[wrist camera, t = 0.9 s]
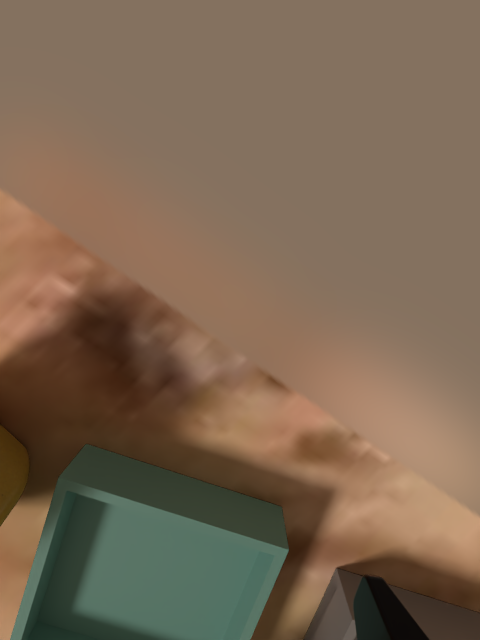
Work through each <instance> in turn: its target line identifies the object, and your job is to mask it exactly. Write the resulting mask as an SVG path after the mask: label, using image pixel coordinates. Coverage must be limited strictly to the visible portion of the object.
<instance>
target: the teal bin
mask: <svg viewBox="0 0 480 640" xmlns="http://www.w3.org/2000/svg"><path fill="white" fill-rule="evenodd" d="M288 551H289V547H288V541H287V535H286V529H285V523H284V517H283V511H282V507H281V506H278V505H274V504H271V503H268V502H265V501H262V500H259V499H256V498H253V497H250V496H247V495H243V494H240V493H237V492H234V491H231V490H228V489H225V488H222V487H219V486H216V485H212V484H209V483H206V482H203V481H200V480H197V479H194V478H191V477H188V476H185V475H181V474H178V473H175V472H172V471H169V470H166V469H163V468H160V467H157V466H154V465H150V464H147V463H144V462H141V461H138V460H135V459H132V458H129V457H126V456H123V455H119V454H116V453H113V452H110V451H107V450H104V449H101V448H98V447H95V446H92V445H88V444H86V445H85V446H84V447H83V448H82V449H81V451H80V452H79V453H78V454H77V456H76V457H75V458H74V459H73V460H72V462H71V463H70V464H69V465H68V466H67V468H66V469H65V470H64V471H63V472H62V474H61V475H60V476H59V478H58V481H57V484H56V488H55V491H54V494H53V498H52V501H51V504H50V508H49V511H48V514H47V518H46V521H45V524H44V528H43V531H42V535H41V538H40V541H39V545H38V548H37V551H36V555H35V558H34V561H33V565H32V568H31V571H30V575H29V578H28V581H27V585H26V588H25V592H24V595H23V598H22V602H21V605H20V608H19V612H18V615H17V618H16V622H15V625H14V628H13V632H12V635H11V638H10V640H250V639H251V637H252V635H253V632H254V630H255V628H256V625H257V623H258V621H259V618H260V616H261V614H262V612H263V609H264V607H265V605H266V602H267V600H268V598H269V595H270V593H271V591H272V588H273V586H274V584H275V581H276V579H277V577H278V574H279V572H280V570H281V567H282V565H283V563H284V560H285V558H286V556H287V554H288Z"/></svg>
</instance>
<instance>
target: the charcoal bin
mask: <svg viewBox="0 0 480 640" xmlns="http://www.w3.org/2000/svg"><path fill="white" fill-rule="evenodd" d="M362 577H363V576H360V575H357V574H354V573H351V572H347V571H344V570H341V569H338V568H336V570H335V572H334V574H333V576H332V579H331V581H330V583H329V585H328V587H327V589H326V592H325V594H324V596H323V598H322V600H321V603H320V605H319V607H318V609H317V611H316V613H315V616H314V618H313V620H312V622H311V624H310V626H309V629H308V631H307V633H306V635H305V637H304V639H303V640H357V635H356V627H355V619H354V611H353V601H354V597H355V594H356V592H357V589H358V586H359V584H360V581H361V579H362ZM388 585H389V584H388ZM389 587H390V588H391V589H392V591H393V592H394V593H395V595H396V596H397V597H398V598H399V600H400V601H401V602H402V604H403V605H404V606H405V608H406V609H407V610H408V612H409V613H410V614H411V615H412V617H413V618H414V619H415V621H416V622H417V623H418V625H419V626H420V627H421V629H422V630H423V631H424V632H425V634H426V635H427V636H428V638H429V639H430V640H480V613H477V612H474V611H471V610H468V609H465V608H462V607H458V606H455V605H452V604H449V603H446V602H443V601H439V600H436V599H433V598H430V597H427V596H424V595H420V594H417V593H414V592H411V591H408V590H405V589H401V588H398V587H395V586H392V585H389Z"/></svg>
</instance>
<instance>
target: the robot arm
mask: <svg viewBox="0 0 480 640" xmlns="http://www.w3.org/2000/svg"><path fill="white" fill-rule="evenodd" d="M353 611H354V619H355V627H356V635H357V640H430V639H429V638H428V636H427V635H426V634H425V632H424V631H423V630H422V629H421V627H420V626H419V625H418V623H417V622H416V621H415V619H414V618H413V617H412V615H411V614H410V613H409V612H408V610H407V609H406V608H405V606H404V605H403V604H402V602H401V601H400V600H399V598H398V597H397V596H396V595H395V593H394V592H393V591H392V589H391V588H390V587H389V585H388V584H387V583H386V581H385V580H384V579H383V578H381V577H379V576H374V575H368V574H365V575H364V576H363V577H362V579H361V581H360V584H359V586H358V589H357V592H356V594H355V597H354V601H353Z"/></svg>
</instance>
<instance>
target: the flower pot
mask: <svg viewBox="0 0 480 640" xmlns="http://www.w3.org/2000/svg"><path fill="white" fill-rule="evenodd" d="M29 470H30V462H29V456H28V452H27V450H26V448H25V447H24V446H23V445H22V444H21V443H20V442H19V441H18V440H17V439H16V438H15V437H13V436H12V435H11V434H10V433H9V432H8V431H7V430H6V429H5V428H4V427H3V426H1V425H0V526H1V525H2V523H3V522H4V520H5V519H6V518H7V516H8V515H9V513H10V512H11V510H12V509H13V508H14V506H15V505H16V503H17V502H18V500H19V498H20V497H21V495H22V493H23V491H24V489H25V486H26V484H27V481H28V476H29Z"/></svg>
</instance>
